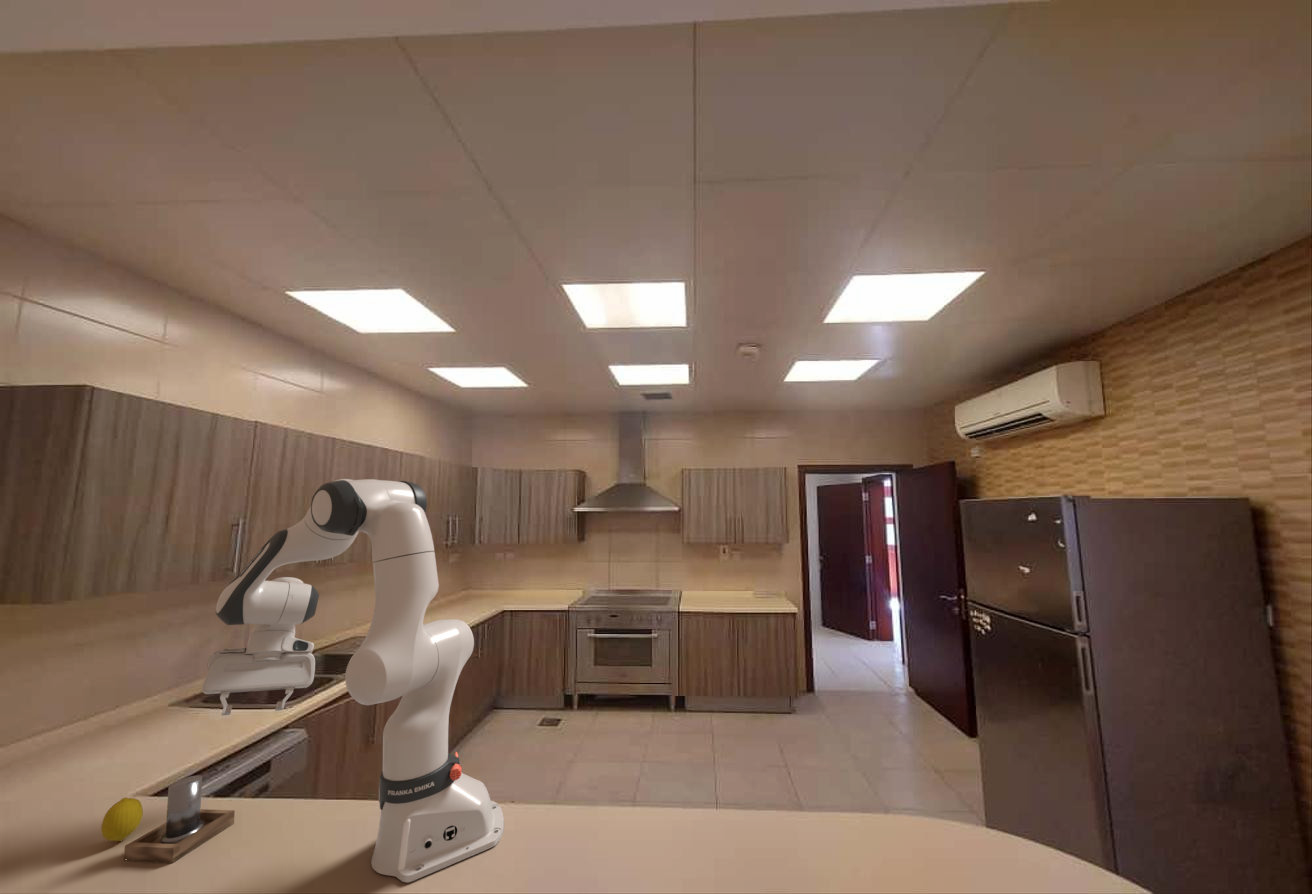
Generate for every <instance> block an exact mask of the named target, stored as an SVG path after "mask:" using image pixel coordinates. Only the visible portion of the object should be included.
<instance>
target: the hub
mask: <svg viewBox="0 0 1312 894" xmlns="http://www.w3.org/2000/svg"><path fill="white" fill-rule="evenodd" d="M202 787H203V776H202V775H198V774H197V775H191V776H187V777H184V778H181V779H179V780H177V781H175V782H172V783H171V784H170V785H169V786H168V788H167V789H168V791H167V792H168V793H167V807H166V808H167V810H166V822H165V823H166V833H164V834H163V835H162V837H161V844H176V843H178V842H180V841H181V840H183V839H185V838H186V837H188V836H189V835H191V834H193V833H194V832H196V831H198V830H199V829H201V828H202V827H204V821H202V820H200V809H201V805H202Z"/></svg>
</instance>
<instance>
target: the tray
mask: <svg viewBox="0 0 1312 894" xmlns="http://www.w3.org/2000/svg"><path fill="white" fill-rule="evenodd" d="M200 820H202V821H204V827H202V828H201V829H199V830H198V831H196V832H194V833H193V834H191V835H189V836H188V837H186V838H185V839H183V840H181V841H180V842H178V843H176V844H161V837H162V835H163V834H164V833H166V822H164V823H163V824H161V825H159V826H157V827H155V828H154V829H152V830H150V831H148V832H147V833H145V834H143V835H141V836H140V837H138V838H137V839H135V840H133V841H130V842H129V843H127V844H126V845H124V851H123V852H124V854H123V860H124V859H127V860H134V861H133V862H144V861H147V862H148V863H149V862H150V863H163V862H164V863H165V864H169V863H170V864H174V863H175V862H176V861H178V860H180V859H182V858H183V857H185V856H186V855H188V854H189V853H191V852H192V851H194V850H196V849H197V848H199V847H200V846H201V845H203V844H205V843H206V842H207V841H209V840H210V839H212V838H215V836H217V835H218V834H220V833H222V832H223V831H225V830H227V829H228V828H229V827H231V826H232V825H234V824H235V810H234V809H233V810H232V809H231V810H230V809H207V808H206V809H200Z"/></svg>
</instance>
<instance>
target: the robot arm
mask: <svg viewBox="0 0 1312 894" xmlns="http://www.w3.org/2000/svg"><path fill="white" fill-rule="evenodd" d="M311 499H312V500H311V502H310V507H309V508H308V510H307V512H306V513H305V515H304V516H303V518H302V519H301V520H299V522H297V523H296V524H294V525H292V526H290V527H289V528H285V529H282V530H281V529H280V530H278V531H276V532H275V533H274V534H273V535H272V536H271V537H270V538H269V539H268V540H267V541H266V542H265V544H264V545H263V546H262V547H261V548H260V549H259V551H257V553H256V554H255V556H253V558H251V560H250V561H249V562H248V564H247V565H246V566H245V567H244V568H243V569H242V570H241V572H240V573H239V574H238V575H237V576H236V577H235V578H234V579H233V580H232V581H230V582H229V583H228V585H226V587H225V588H224V589H223V590H222V592H221V593H220V595H219V596H218V599H217V602H216V606H215V615H216V616H217V617H218V618H219V620H221V621H222V622H223V623H224V624H225V625H226V626H239V625H241V626H242V625H243V626H244V625H254V626H253V628H252V630H251V631H250V633H249V637H248V640H247V645H246V647H237V648H221V649H220V650H218V651H214V652H213V653H211V655H210V657H209V659H208V662H207V669H208V672H207V674H206V676H205V679H204V681H203V684H202V687H201V691H202V693H203V694H204V695H215V694H220V696H219V700H220V702H221V705H222V712H221V716H222V717H223V716H230V715H231V713H232V709H233V705H232V704H228V702H227V699H229V697H230V694H231V693H244V692H245V693H247V692H260V691H262V692H263V691H276V690H285V693H284V694H285V695H286V696H285V697H284V698H283V699H282V700H280V701H277V702H276V706H275V710H274V711H275V712H279V711H280V712H281V711H284V709H285V704H286V702H287V700H288V699H289V698H290V697H291V696H292V694H293V693H294V690H295V689H306V688H308V687H310V686H311V685H312V684H313V682H314V679H315V671H316V658H315V656H314V654H312V653H313V652H314V649H315V644H314V643H313V642H311V641H309V640H304V639H302V638H301V639H300V638H297V637H296V625H302V624H303V623H305V622H307V621H309V620H310V619H312V618H313V617H315V614H316V611H317V608H318V601H319V598H320V594H319V591H318V590H317V588H315V586H314V585H313V584H309V583H305V582H304V581H303V580H301V579H299V578H298V577H291V576H282V577H277V578H273V579H272V580H266V579H267V578H268V577H269V576H270V575H271V574H272V573H273V571H274V570H276V569H277V568H279V567H281V566H285V565H289V564H294V563H302V562H314V561H324V560H329V559H331V558H332V559H333V558H335V557H337V556H339V555H342V554H343V553H344V552H346V551H347V550H348V549H349V547H351V545H352V544H353V543H354V541H355V540H356V538H357V536H359V535H358V534H359V533H364V534H366V535H367V536H368V537H369V538H370V543H371V556H372V557H371V558H372V559H371V560H372V568H373V570H372V571H373V579H374V581H373V582H374V594H375V595H374V596H375V597H374V598H375V599H374V600H375V601H374V609H373V614H372V619H371V622H370V626H369V628H368V632H367V633H366V636H365V638H364V640H363V642H362V643H361V644H360V645H359V648H358V649H357V650H356V651H355V652H354V654H353V655H352V656H351V657H350V660H348V661H349V662H348V663H347V666H346V669H345V677H344V679H345V681H344V682H345V686H346V690H347V692H348V693H349V695H350V697H351V698H352V699H353V700H355V702H357V703H359V704H360V705H364V706H373V705H376V704H381V703H386V702H390V701H395V700H397V699H399V698H401V699H400V701H399V704H398V706H397V707H396V709H395V710H394V711H393V713H392V714H391V715H390V717H389V718H388V720H387V721H386V723H385V725H384V727H383V732H382V771H381V773H380V776H379V782H378V803H379V809H380V817H379V824H378V825H379V826H378V832H377V836H376V842H375V846H374V850H373V854H372V855H371V856H372V857H371V862H370V863H371V867H372V869H373V870H374V871H375V872H376V873H378V874H380V875H384V876H392V877H396V878H397V879H398V880H399V881H401V882H403V883H407V884H408V883H411V882H414V881H417V880H418V879H421V878H423V877H426V876H428V875H430V874H432V873H435V872H438V871H441V870H442V869H444V868H447V867H449V866H451V865H454V864H456V863H458V862H461V861H463V860H466V859H468V858H471V857H472V856H475V855H477V854H480V853H482V852H484V851H486V850H489V849H491V848H493V847H495V846H496V845H497V844H498V843H499V842H500V840H501V838H502V836H503V834H504V828H505V821H504V820H505V819H504V813H503V809H502V808H501V806H500V804H498V803H497V802H496V801H494V800H491V798H490V794H489V791H488V788H487V786H486V785H485V783H484V782H482V781H481V780H478V779H476V778H473V777H472V776H470V775H467V774H465V773H463V772H462V771H463V769H462V765H461V763H460V758H459V754H458V752H457V751H455V755H454V754H452V753H450V752H449V722H450V721H449V718H450V709H451V705H452V701H453V696H454V693H455V690H456V686H457V683H458V680H459V679H460V678H459V677H460V675H461V674H462V673H461V672H462V670H463V668H464V666H465V665H466V663H467V662H468V660H469V659H470V657H471V656H472V654H473V651H474V648H475V647H474V646H475V639H474V634H473V632H472V629H471V628H470V625H468V624H467V623H466V622H465V621H463V620H461V619H457V618H453V619H452V618H450V619H447V618H446V619H438V620H435V621H431V622H428V623H425V624H424V619H425V615H426V612H427V609H428V607H429V604H430V603H431V601H432V600H434V598H435V597H436V595H437V594H438V592H439V587H440V583H439V576H438V568H437V560H436V553H435V545H434V540H433V534H432V531H431V527H430V524H429V521H428V518H427V515H426V512H427V509H428V507H427V506H428V500H427V499H428V498H427V495H426V493H425V490H424V488H423V487H421V486H420V485H419V484H417V483H415V482H411V481H405V480H399V481H396V480H387V479H386V480H385V479H384V480H383V479H376V478H372V479H371V478H369V479H367V478H365V479H364V478H363V479H352V478H341V479H336V480H334V481H329V482H326V483H323V484H321V485H320V486H319V487H318V488H317V490H316V491H315V492H314V494H313V497H312V498H311Z"/></svg>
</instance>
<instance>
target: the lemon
mask: <svg viewBox="0 0 1312 894" xmlns="http://www.w3.org/2000/svg"><path fill="white" fill-rule="evenodd" d="M143 813H144V810H143V805H142V803H141V801H140V800H139V799H137V798H134V797H122V798H121V799H120V800H119V801H118V802H115V803H114V804H113V805H112V806H111V807H109V809H108V810H107V811H106V813H105V815H104V816H103V820H102V823H101V829H100V830H101V835H102V837H103V838H104V839H105V840H107V841H111V842H118V841H121V840H123V839H124V840H125V839H126V838H127V837H128V836H130V835H131V834H132V833H134V832H135V831H136V829H137V828H138V827H139V825H140V824H141V821H142V819H143ZM124 840H123V841H124ZM121 842H122V841H121Z"/></svg>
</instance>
